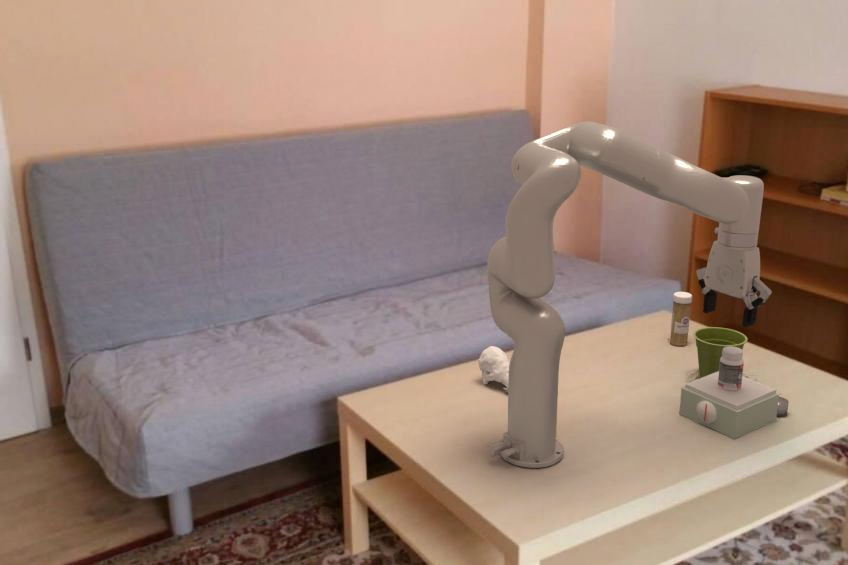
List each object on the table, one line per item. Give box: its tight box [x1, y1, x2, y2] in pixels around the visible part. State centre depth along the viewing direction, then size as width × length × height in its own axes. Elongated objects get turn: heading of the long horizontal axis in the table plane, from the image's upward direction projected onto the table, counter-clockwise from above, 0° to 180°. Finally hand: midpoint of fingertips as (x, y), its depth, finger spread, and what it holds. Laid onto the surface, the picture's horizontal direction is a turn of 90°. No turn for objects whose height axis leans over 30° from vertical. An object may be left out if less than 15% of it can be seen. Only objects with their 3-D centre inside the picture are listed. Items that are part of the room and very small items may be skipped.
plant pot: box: [692, 326, 749, 379], centre depth 204 cm, size 12×12×11 cm
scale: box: [679, 371, 780, 439], centre depth 188 cm, size 15×14×7 cm
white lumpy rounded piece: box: [477, 345, 510, 393], centre depth 203 cm, size 6×8×12 cm
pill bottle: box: [718, 346, 745, 391], centre depth 185 cm, size 5×5×8 cm
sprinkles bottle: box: [669, 291, 693, 347], centre depth 225 cm, size 5×5×14 cm
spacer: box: [776, 396, 790, 419], centre depth 190 cm, size 4×4×3 cm
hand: (728, 318), depth 182 cm, fingers open, 9 cm apart
